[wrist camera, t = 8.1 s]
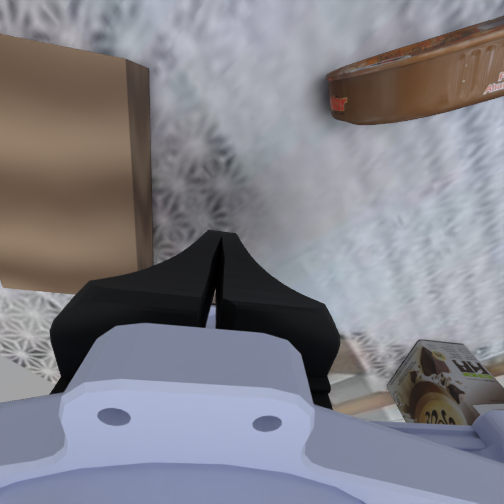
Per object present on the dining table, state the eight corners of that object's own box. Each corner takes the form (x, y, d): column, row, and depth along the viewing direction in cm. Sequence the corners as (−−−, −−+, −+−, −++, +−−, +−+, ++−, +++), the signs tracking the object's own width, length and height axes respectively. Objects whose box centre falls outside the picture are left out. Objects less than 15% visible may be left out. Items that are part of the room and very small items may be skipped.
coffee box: (416, 338, 31) (568, 537, 16) (464, 343, 31) (649, 537, 17) (384, 386, 35) (482, 576, 21) (427, 390, 36) (550, 575, 22)
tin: (548, 1, 16) (805, -86, 9) (534, 62, 18) (745, 30, 10) (309, 76, 18) (360, 54, 10) (316, 126, 19) (364, 138, 12)
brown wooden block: (153, 272, 24) (139, 300, 21) (38, 260, 23) (3, 287, 20) (148, 68, 17) (125, 58, 13) (-23, 35, 16) (-98, 14, 12)
